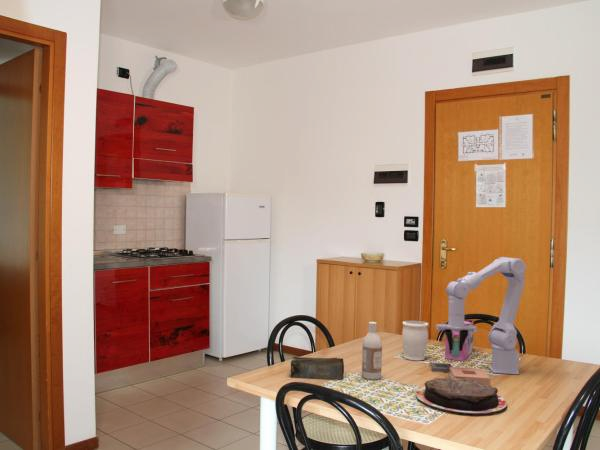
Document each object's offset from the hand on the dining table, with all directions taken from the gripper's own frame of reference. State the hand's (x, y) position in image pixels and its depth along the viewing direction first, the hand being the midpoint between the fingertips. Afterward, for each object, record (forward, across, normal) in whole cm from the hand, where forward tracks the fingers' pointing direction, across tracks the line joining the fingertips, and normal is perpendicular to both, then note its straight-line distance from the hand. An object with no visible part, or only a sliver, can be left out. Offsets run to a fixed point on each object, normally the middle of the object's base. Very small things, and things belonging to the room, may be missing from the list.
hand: (455, 350), depth 195 cm
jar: (+9, -13, +20) cm, 26 cm away
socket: (+9, +4, -6) cm, 12 cm away
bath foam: (+9, -31, -11) cm, 34 cm away
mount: (+9, -4, +7) cm, 12 cm away
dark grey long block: (+10, -51, -13) cm, 53 cm away
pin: (+2, 0, 0) cm, 2 cm away
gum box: (+10, +7, +32) cm, 34 cm away
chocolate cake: (+10, -3, -29) cm, 31 cm away
